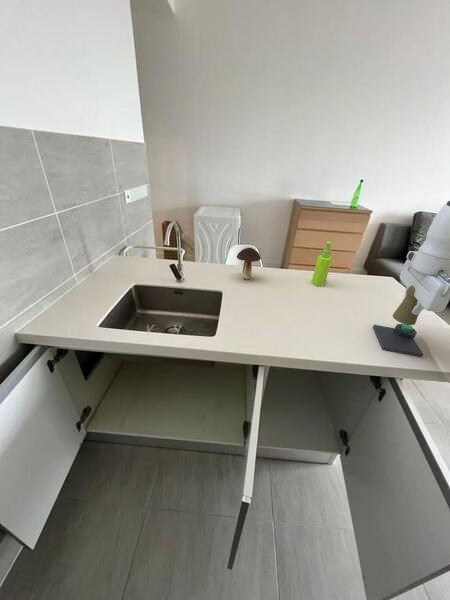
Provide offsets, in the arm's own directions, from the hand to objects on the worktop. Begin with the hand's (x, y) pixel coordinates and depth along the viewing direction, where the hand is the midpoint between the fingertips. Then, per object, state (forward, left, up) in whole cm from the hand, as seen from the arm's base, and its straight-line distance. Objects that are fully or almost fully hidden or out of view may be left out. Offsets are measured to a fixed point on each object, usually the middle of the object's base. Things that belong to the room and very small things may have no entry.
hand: (410, 307), depth 71 cm
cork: (0, 0, -4) cm, 4 cm away
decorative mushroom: (+53, -31, -14) cm, 63 cm away
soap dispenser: (+20, -38, -14) cm, 45 cm away
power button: (-5, -6, -12) cm, 14 cm away
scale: (-2, -2, -14) cm, 15 cm away
